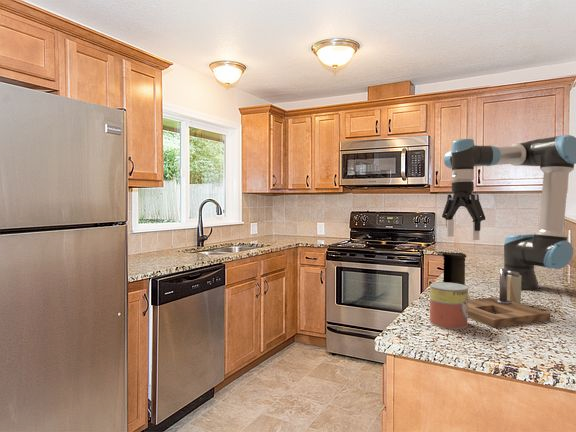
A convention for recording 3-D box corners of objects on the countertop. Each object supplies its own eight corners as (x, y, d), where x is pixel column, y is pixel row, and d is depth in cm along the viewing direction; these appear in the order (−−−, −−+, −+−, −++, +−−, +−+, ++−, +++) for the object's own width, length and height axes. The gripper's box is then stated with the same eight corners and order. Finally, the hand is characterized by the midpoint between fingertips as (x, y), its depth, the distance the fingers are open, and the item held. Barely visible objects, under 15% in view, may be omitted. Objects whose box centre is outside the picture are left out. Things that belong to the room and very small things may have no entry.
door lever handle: (503, 300, 147) (503, 267, 147) (523, 306, 139) (523, 271, 139) (492, 301, 146) (492, 268, 145) (511, 307, 138) (512, 272, 137)
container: (465, 297, 161) (465, 252, 160) (467, 303, 153) (468, 255, 152) (441, 296, 164) (441, 251, 163) (441, 301, 156) (442, 254, 155)
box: (501, 302, 154) (502, 273, 154) (512, 301, 155) (513, 272, 154) (510, 305, 149) (511, 275, 148) (521, 305, 149) (522, 275, 149)
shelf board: (496, 303, 152) (496, 297, 152) (550, 320, 131) (550, 312, 131) (445, 308, 145) (445, 302, 145) (493, 327, 124) (493, 319, 124)
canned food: (464, 331, 121) (465, 291, 121) (425, 325, 127) (426, 287, 127) (470, 321, 131) (470, 284, 130) (433, 316, 137) (434, 280, 136)
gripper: (432, 182, 162) (432, 235, 163) (479, 179, 138) (478, 242, 139) (448, 182, 164) (448, 234, 165) (496, 179, 140) (496, 241, 141)
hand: (462, 238), depth 152 cm, fingers open, 13 cm apart
